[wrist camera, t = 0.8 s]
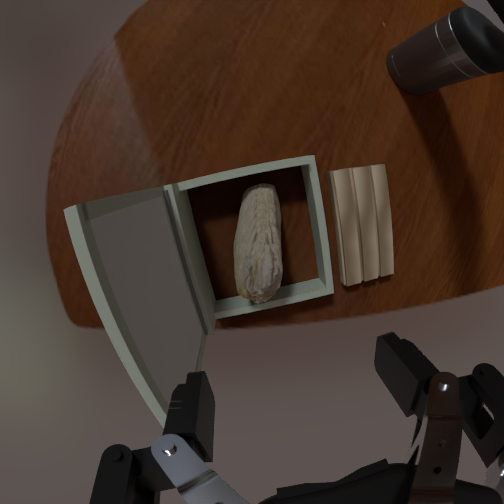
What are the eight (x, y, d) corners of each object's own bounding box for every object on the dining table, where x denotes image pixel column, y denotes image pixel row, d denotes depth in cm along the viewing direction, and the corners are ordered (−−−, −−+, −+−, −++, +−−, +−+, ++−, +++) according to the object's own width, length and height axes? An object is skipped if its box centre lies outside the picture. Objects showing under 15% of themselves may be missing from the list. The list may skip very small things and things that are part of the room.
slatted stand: (379, 164, 36) (386, 164, 34) (389, 268, 41) (395, 272, 39) (326, 171, 36) (330, 171, 34) (340, 281, 41) (345, 286, 39)
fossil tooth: (282, 187, 38) (271, 288, 40) (238, 182, 37) (229, 286, 40) (307, 182, 27) (289, 321, 29) (245, 174, 26) (232, 319, 28)
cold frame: (306, 157, 35) (420, 134, 11) (325, 282, 41) (410, 398, 16) (172, 185, 36) (63, 209, 11) (206, 308, 41) (179, 449, 17)
